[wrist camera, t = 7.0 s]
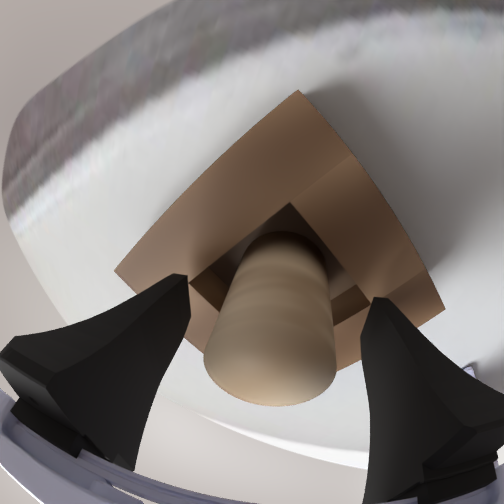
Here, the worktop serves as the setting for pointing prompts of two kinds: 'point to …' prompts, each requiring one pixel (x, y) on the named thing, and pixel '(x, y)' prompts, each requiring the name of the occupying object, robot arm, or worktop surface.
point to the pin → (275, 325)
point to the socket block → (287, 227)
